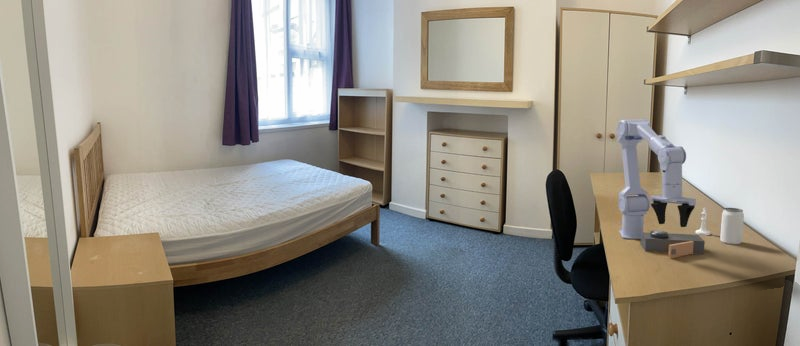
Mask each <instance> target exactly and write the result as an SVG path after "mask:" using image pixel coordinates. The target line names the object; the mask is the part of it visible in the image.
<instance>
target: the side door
mask: <svg viewBox="0 0 800 346" xmlns="http://www.w3.org/2000/svg"><path fill="white" fill-rule="evenodd" d="M693 245H694V242H693V241H689V242H683V243H677V244H672V245H669V252H667V253H668V257H667V258H669V259H673V258H676V257H682V256H683V257H684V256H687V255H693Z"/></svg>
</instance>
